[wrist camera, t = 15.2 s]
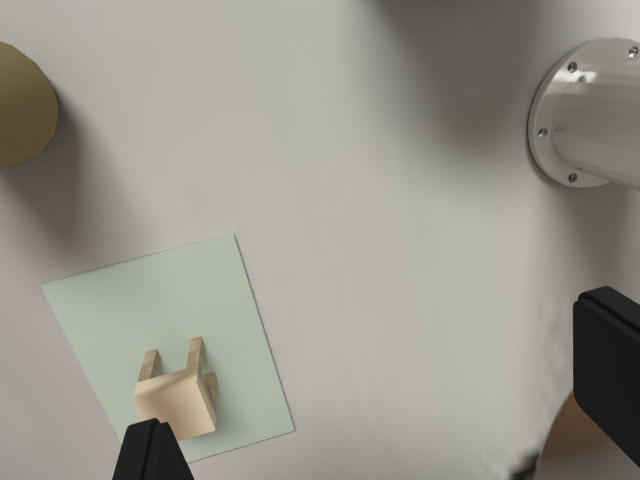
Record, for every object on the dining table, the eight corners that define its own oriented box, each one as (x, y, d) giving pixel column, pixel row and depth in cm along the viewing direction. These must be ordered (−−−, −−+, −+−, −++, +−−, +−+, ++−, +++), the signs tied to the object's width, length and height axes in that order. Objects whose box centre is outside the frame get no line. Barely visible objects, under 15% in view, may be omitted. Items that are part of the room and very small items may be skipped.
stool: (201, 336, 43) (196, 382, 37) (217, 379, 45) (215, 430, 39) (145, 351, 42) (131, 400, 36) (164, 395, 44) (154, 448, 38)
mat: (233, 232, 40) (233, 235, 40) (293, 426, 49) (294, 430, 48) (43, 283, 39) (40, 286, 39) (139, 472, 48) (138, 477, 47)
